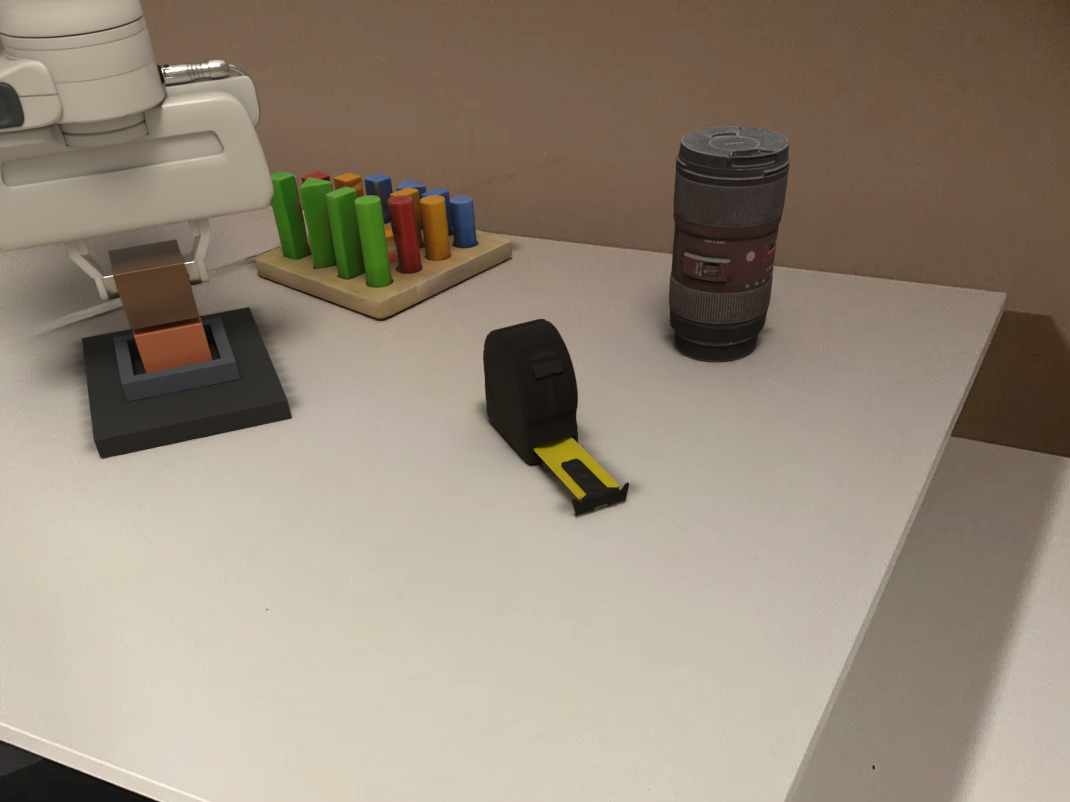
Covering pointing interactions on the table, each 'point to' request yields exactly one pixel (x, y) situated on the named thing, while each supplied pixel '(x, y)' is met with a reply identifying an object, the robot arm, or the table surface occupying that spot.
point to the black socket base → (181, 388)
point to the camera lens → (725, 238)
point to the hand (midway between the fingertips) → (155, 289)
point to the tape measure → (543, 408)
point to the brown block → (153, 284)
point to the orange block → (172, 345)
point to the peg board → (374, 241)
